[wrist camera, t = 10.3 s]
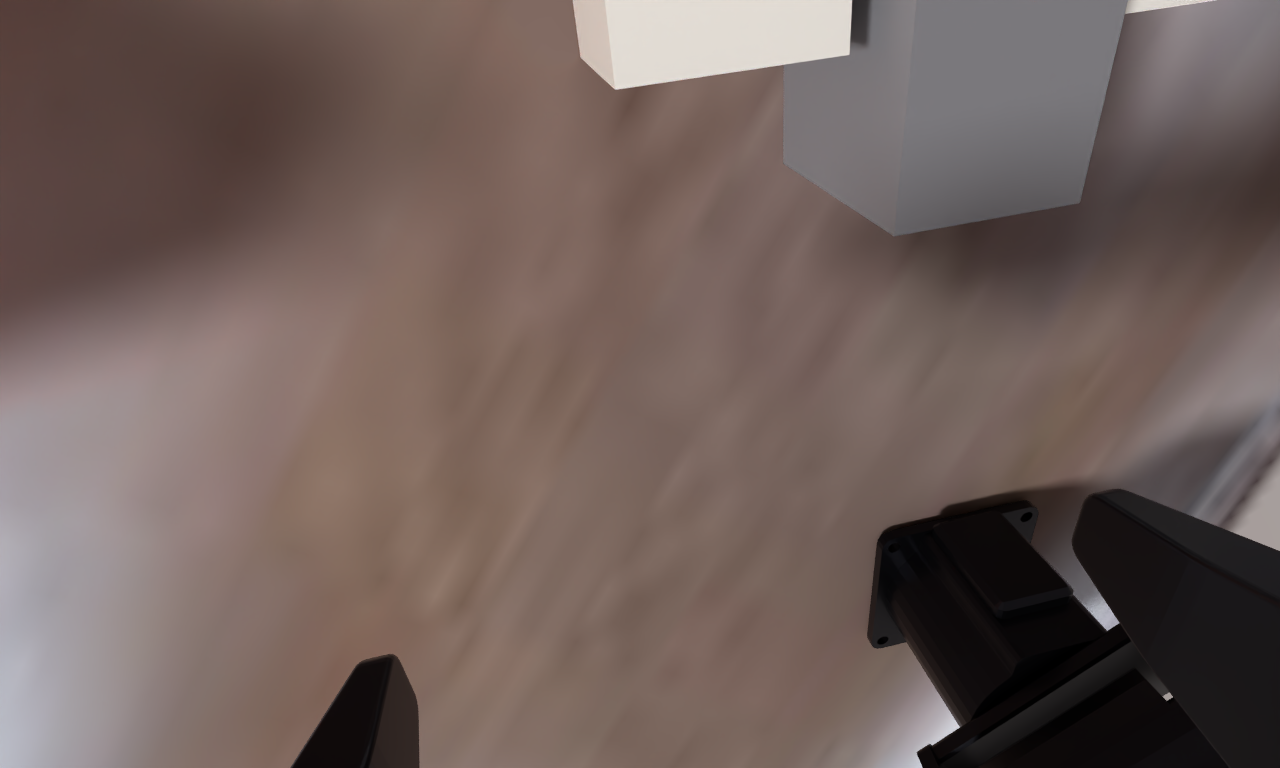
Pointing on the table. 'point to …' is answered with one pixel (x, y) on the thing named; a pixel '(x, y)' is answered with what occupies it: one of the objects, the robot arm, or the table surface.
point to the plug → (954, 108)
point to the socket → (719, 35)
